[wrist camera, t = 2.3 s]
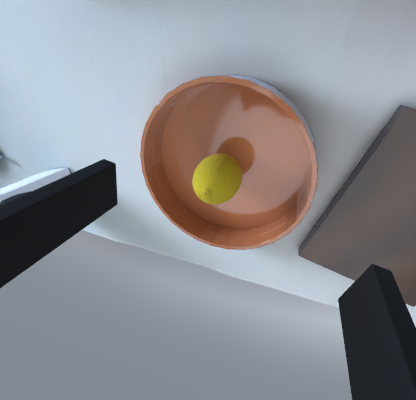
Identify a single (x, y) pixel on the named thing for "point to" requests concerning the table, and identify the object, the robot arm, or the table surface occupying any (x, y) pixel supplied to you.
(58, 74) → the table surface
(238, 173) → the lemon
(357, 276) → the board
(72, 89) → the table surface
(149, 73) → the table surface
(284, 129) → the basin
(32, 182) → the milk carton
